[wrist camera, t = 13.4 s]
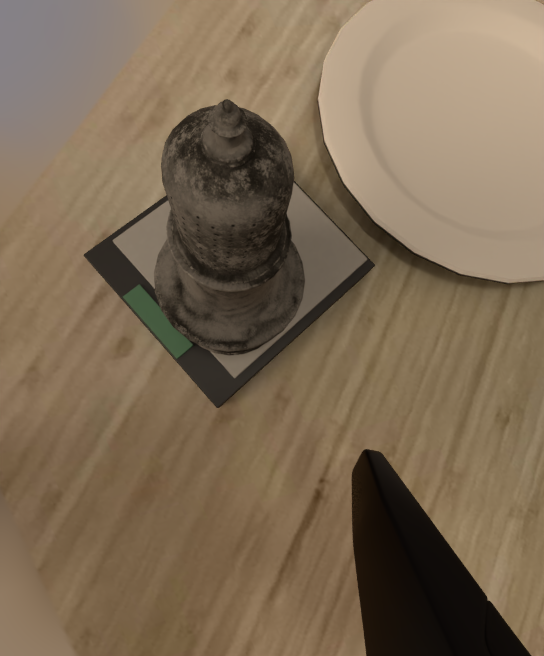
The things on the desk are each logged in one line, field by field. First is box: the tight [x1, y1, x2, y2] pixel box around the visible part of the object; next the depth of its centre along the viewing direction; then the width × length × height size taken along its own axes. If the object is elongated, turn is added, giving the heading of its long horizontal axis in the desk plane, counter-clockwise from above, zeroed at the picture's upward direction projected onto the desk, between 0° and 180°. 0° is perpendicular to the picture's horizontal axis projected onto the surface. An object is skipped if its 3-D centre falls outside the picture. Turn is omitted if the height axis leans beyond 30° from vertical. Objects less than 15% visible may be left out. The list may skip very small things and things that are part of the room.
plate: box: [318, 0, 544, 284], centre depth 22 cm, size 21×21×2 cm
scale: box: [84, 181, 375, 408], centre depth 19 cm, size 11×10×2 cm
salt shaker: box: [154, 99, 305, 356], centre depth 12 cm, size 6×6×12 cm
